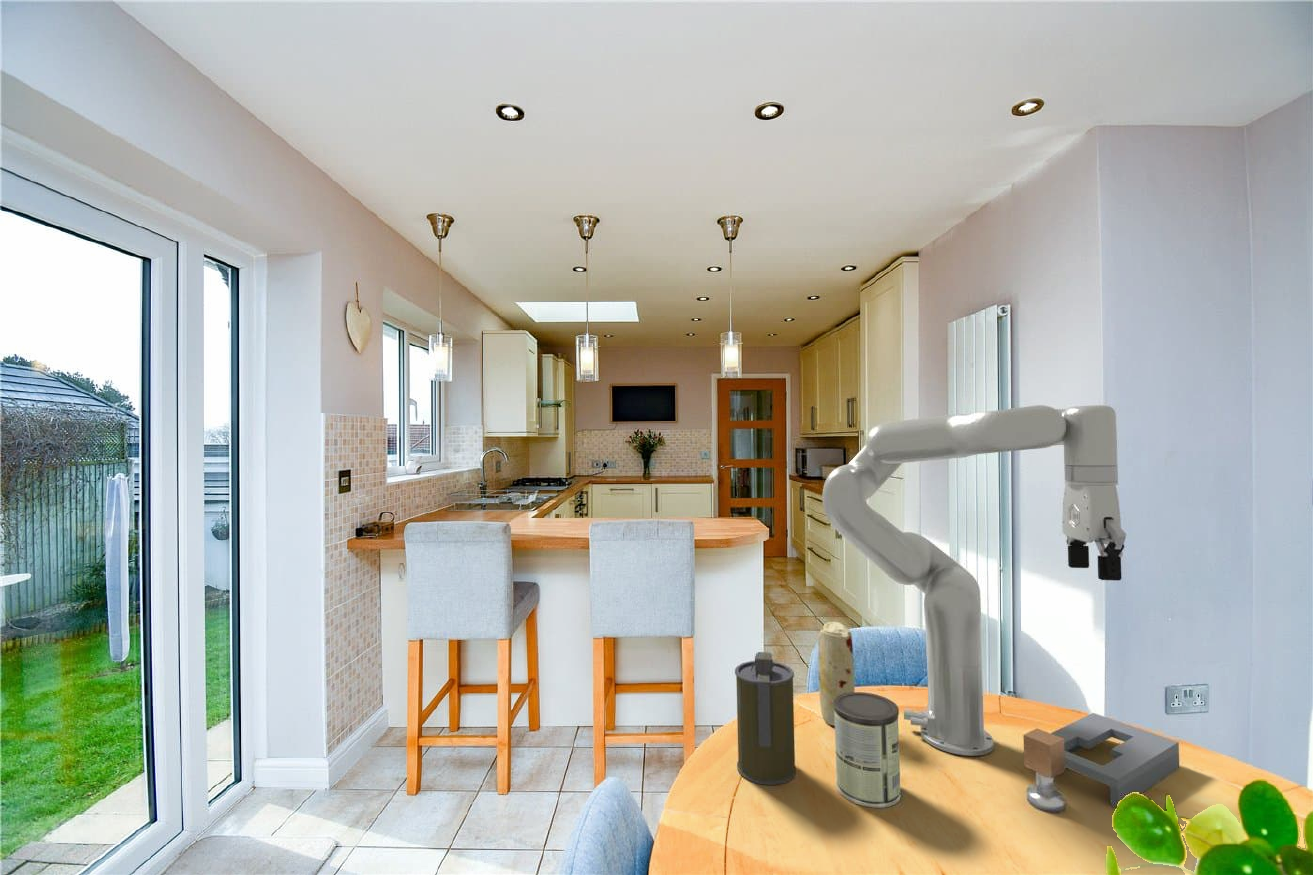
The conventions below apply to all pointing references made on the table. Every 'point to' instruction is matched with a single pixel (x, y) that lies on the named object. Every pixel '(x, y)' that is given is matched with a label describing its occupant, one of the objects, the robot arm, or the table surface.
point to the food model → (834, 666)
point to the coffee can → (867, 749)
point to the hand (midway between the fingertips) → (1093, 573)
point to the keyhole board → (1120, 754)
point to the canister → (765, 721)
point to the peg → (1044, 769)
